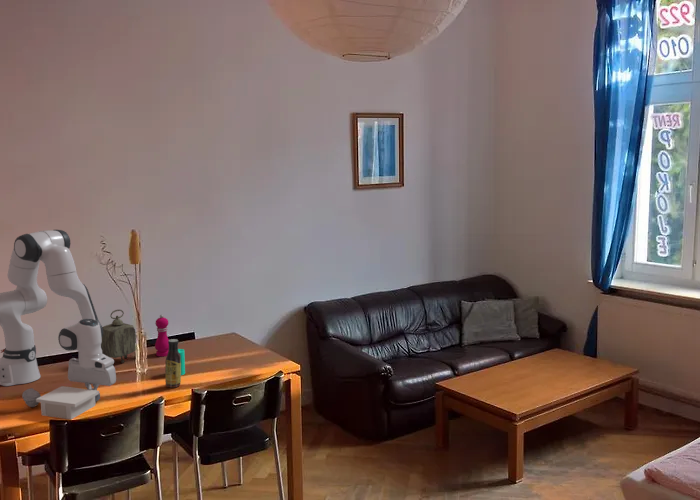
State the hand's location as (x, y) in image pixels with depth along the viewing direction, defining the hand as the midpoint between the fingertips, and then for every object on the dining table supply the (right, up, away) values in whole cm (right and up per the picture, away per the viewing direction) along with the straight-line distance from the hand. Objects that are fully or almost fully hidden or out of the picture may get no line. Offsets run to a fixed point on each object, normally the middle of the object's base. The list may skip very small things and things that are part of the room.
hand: (92, 393), depth 266 cm
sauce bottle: (+29, 0, +14) cm, 32 cm away
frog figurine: (-19, -3, -10) cm, 22 cm away
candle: (+27, +2, +29) cm, 39 cm away
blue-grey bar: (-2, -4, -9) cm, 10 cm away
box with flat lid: (-4, -4, -12) cm, 13 cm away
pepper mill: (+13, +7, +55) cm, 57 cm away
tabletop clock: (-4, +5, +44) cm, 44 cm away
